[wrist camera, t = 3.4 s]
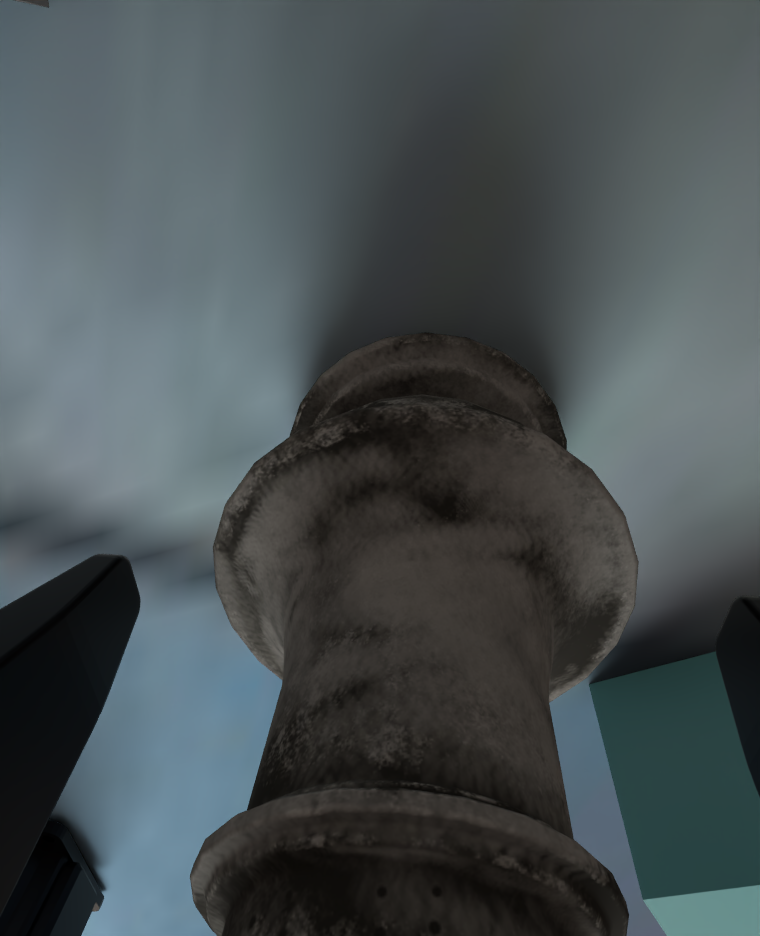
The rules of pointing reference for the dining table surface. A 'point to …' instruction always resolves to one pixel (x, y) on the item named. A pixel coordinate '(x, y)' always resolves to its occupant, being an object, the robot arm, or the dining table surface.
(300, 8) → the dining table surface
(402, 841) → the salt shaker
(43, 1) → the grey cube
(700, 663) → the teal block
